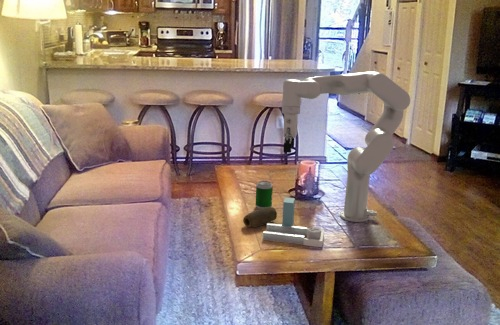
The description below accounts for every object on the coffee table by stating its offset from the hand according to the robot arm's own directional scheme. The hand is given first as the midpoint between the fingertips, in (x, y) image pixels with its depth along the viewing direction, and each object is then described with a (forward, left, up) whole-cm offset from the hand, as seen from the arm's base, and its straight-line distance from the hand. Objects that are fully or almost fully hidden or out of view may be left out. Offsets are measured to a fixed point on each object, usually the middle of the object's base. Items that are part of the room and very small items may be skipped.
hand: (288, 149), depth 214 cm
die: (-14, +23, -31) cm, 41 cm away
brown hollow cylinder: (+9, +12, -31) cm, 34 cm away
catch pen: (-14, +22, -30) cm, 40 cm away
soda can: (+11, -8, -31) cm, 33 cm away
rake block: (-3, +12, -30) cm, 33 cm away
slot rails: (-3, +22, -30) cm, 38 cm away
